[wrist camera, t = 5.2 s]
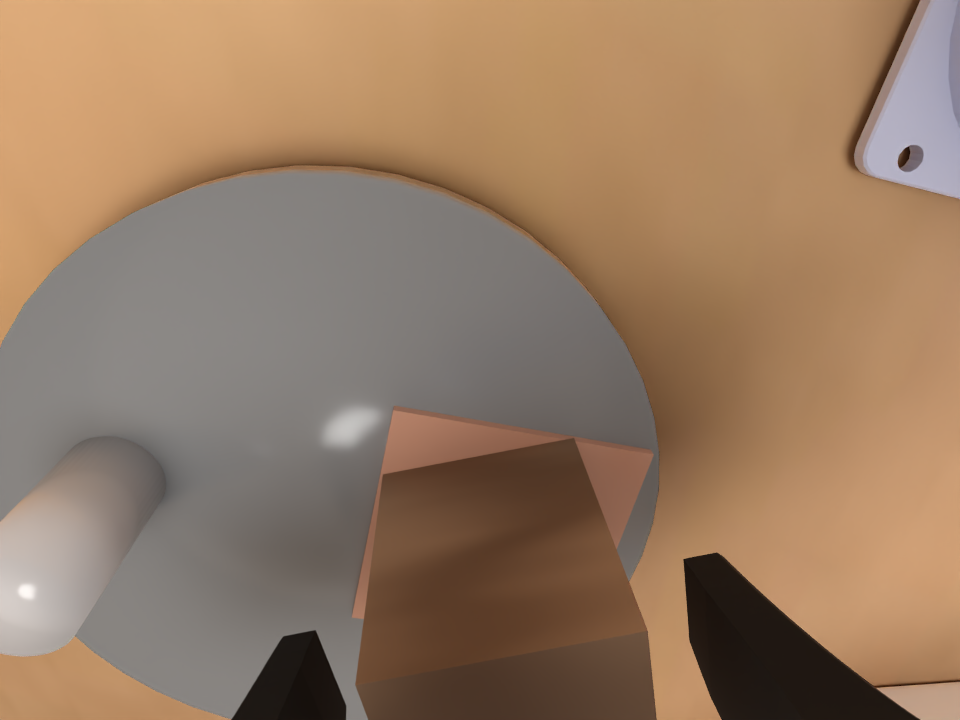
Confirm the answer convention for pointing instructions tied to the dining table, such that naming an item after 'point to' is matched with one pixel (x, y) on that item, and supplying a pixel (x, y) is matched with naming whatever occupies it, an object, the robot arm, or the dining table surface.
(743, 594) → the robot arm
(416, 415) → the turntable
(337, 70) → the dining table surface
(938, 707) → the milk
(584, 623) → the walnut block
